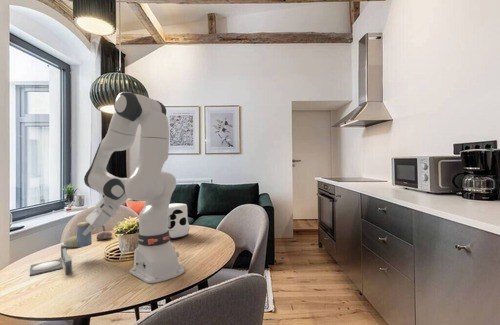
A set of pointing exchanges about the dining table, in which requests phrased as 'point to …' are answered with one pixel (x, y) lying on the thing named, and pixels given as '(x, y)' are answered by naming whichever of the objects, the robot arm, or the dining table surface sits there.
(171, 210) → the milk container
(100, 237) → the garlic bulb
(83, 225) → the ceramic jar
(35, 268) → the resting mat
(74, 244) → the sea urchin shell
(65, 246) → the dark grey flat bar
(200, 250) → the dining table surface
